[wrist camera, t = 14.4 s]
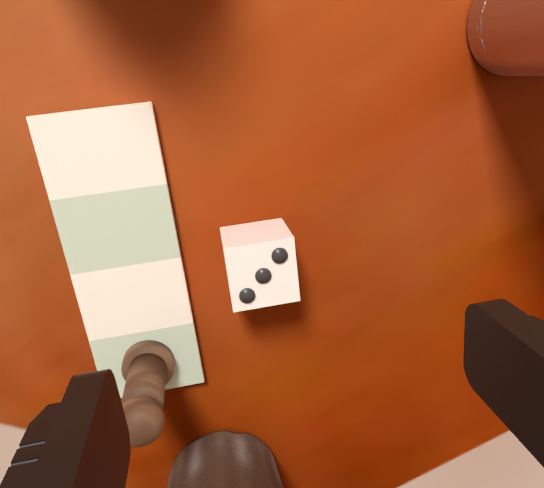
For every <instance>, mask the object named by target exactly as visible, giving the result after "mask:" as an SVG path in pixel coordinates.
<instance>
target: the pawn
mask: <svg viewBox="0 0 544 488" xmlns="http://www.w3.org/2000/svg"><path fill="white" fill-rule="evenodd" d="M174 365H175V359H174V355H173V353H172V351H171V350H170V349H169V348H168V347H167V346H166V345H165V344H163V343H161V342H158V341H153V340H145V341H141V342H138V343H136V344H134V345H132V346H131V347H130V348H129V349H128V350H127V351H126V353H125V355H124V358H123V362H122V367H121V372H122V376H123V378H124V380H125V381H126V383H125V388H124V392H123V397H122V401H121V402H122V406H123V410H124V413H125V417H126V421H127V425H128V429H129V435H130V446H133V447H142V446H146V445H148V444H150V443H152V442H153V441H155V440H156V439H157V438H158V437H159V435H160V434H161V432H162V430H163V427H164V423H165V414H164V410H163V408H164V397H165V386H166V384H167V383H168V382H169V381H170V380H171V378H172V376H173V373H174Z"/></svg>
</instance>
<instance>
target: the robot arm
mask: <svg viewBox="0 0 544 488" xmlns="http://www.w3.org/2000/svg"><path fill="white" fill-rule="evenodd" d="M467 37H468V42H469V46H470V50H471V52H472V54H473V56H474V58H475V59H476V61H477V62H478V63H479V64H480V65H481V67H483V68H484V69H486V70H487V71H488V72H490V73H493V74H496V75H500V76H544V0H473V2H472V5H471V8H470V12H469V15H468V23H467ZM464 370H465V374H466V377H467V379H468V382H469V384H470V385H471V387H472V388H473V390H474V391H475V392H476V393H477V394H478V395H479V396H480V398H481V399H482V400H483V401H484V402H485V403H486V404H487V405H488V406H489V407H490V409H491V410H492V411H493V412H494V413H495V414H496V415H497V416H498V417H499V419H500V420H501V421H502V422H503V423H504V424H505V425H506V426H507V427H508V428H509V430H510V431H511V432H512V433H513V434H514V435H515V436H516V437H517V438H518V439H519V441H520V442H521V443H522V444H523V445H524V446H525V447H526V448H527V449H528V451H529V452H530V453H531V454H532V455H533V456H534V457H535V458H536V459H537V460H538V462H540V464H541V465H542V466H543V467H544V320H541V319H539V318H536V317H533V316H531V315H530V316H528V315H527V314H526V313H524V312H523V311H521V310H520V309H518V308H517V307H516V306H514V305H513V304H511V303H510V302H508V301H507V300H505V299H496V300H491V301H485V302H480V303H474V304H470V305H469V306H468V307H467V309H466V312H465V334H464ZM19 446H20V448H19V449H17V451H16V453H15V455H14V457H13V459H12V462H11V467H9V468H8V470H7V472H6V474H5V476H4V478H3V480H2V482H1V485H0V488H125V485H126V479H127V473H128V467H129V461H130V435H129V429H128V425H127V421H126V417H125V413H124V410H123V406H122V402H121V398H120V395H119V391H118V387H117V383H116V380H115V376H114V374H113V372H112V370H111V369H106V370H100V371H95V372H89V373H84V374H78V375H74V376H72V378H71V380H70V382H69V385H68V387H67V389H66V392H65V394H64V397H63V399H62V402H60V403H55V404H50V405H47V406H46V407H45V408H44V409H43V411H42V412H41V413H40V414H39V415H38V416H37V417H36V418H35V419H34V420H33V421H32V422H31V423H30V424H29V426H28V428H27V430H26V432H25V434H24V436H23V438H22V440H21V443H20V445H19Z"/></svg>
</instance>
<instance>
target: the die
mask: <svg viewBox="0 0 544 488" xmlns="http://www.w3.org/2000/svg"><path fill="white" fill-rule="evenodd" d="M220 234H221V240H222V246H223V253H224V259H225V266H226V272H227V278H228V285H229V291H230V296H231V302H232V308H233V313H234V312H239V311H245V310H251V309H257V308H262V307H268V306H274V305H280V304H285V303H291V302H297V301H300V292H299V282H298V271H297V261H296V251H295V241H294V236H293V235H292V233H291V232H290V230H289V229H288V227H287V226H286V224H285V222H284V221H283V219H282V218H278V219H272V220H265V221H258V222H252V223H245V224H239V225H232V226H226V227H220Z"/></svg>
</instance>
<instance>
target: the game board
mask: <svg viewBox="0 0 544 488" xmlns="http://www.w3.org/2000/svg"><path fill="white" fill-rule="evenodd" d="M26 119H27V123H28V126H29V130H30V133H31V137H32V140H33V144H34V148H35V151H36V155H37V158H38V162H39V165H40V169H41V172H42V176H43V180H44V183H45V187H46V190H47V194H48V197H49V201H50V204H51V208H52V212H53V215H54V219H55V222H56V226H57V229H58V233H59V236H60V240H61V244H62V247H63V251H64V254H65V258H66V261H67V265H68V268H69V272H70V276H71V279H72V283H73V286H74V290H75V293H76V297H77V300H78V304H79V308H80V311H81V315H82V318H83V322H84V325H85V329H86V333H87V336H88V340H89V343H90V347H91V350H92V354H93V357H94V361H95V365H96V368H97V371H100V370H106V369H111V370H112V372H113V374H114V376H115V380H116V383H117V387H118V391H119V395H120V398H122V397H123V392H124V388H125V383H126V381H125V380H124V378H123V376H122V372H121V367H122V362H123V358H124V355H125V353H126V351H127V350H128V349H129V348H130V347H131V346H132V345H134V344H136V343H138V342H141V341H145V340H153V341H158V342H161V343H163V344H165V345H166V346H167V347H168V348H169V349H170V350H171V351H172V353H173V355H174V359H175V365H174V373H173V376H172V378H171V380H170V381H169V382H168V383H167V384H166V386H165V390H166V389H172V388H177V387H182V386H188V385H193V384H198V383H203V382H204V373H203V368H202V362H201V357H200V352H199V347H198V341H197V336H196V331H195V325H194V320H193V315H192V310H191V304H190V299H189V294H188V289H187V283H186V278H185V273H184V267H183V262H182V257H181V252H180V246H179V241H178V236H177V230H176V225H175V220H174V215H173V209H172V204H171V199H170V194H169V188H168V183H167V178H166V172H165V167H164V162H163V157H162V151H161V146H160V141H159V136H158V130H157V125H156V120H155V114H154V109H153V104H152V101H150V102H141V103H133V104H125V105H117V106H108V107H100V108H92V109H84V110H75V111H67V112H59V113H50V114H42V115H34V116H28V117H26Z"/></svg>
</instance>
